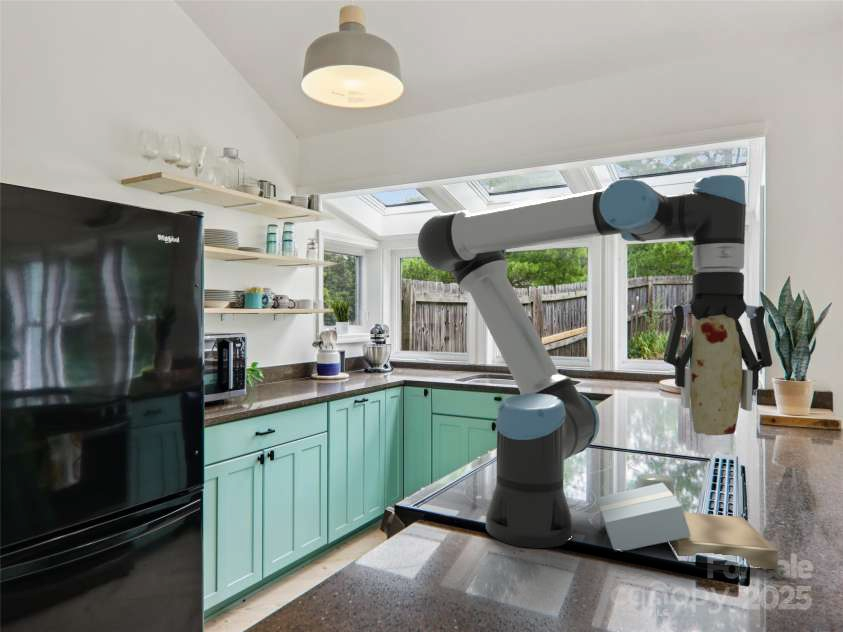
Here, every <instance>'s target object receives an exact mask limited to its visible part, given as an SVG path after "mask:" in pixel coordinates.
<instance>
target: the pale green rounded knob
mask: <svg viewBox="0 0 843 632" xmlns="http://www.w3.org/2000/svg"><path fill="white" fill-rule="evenodd" d="M659 483H664V485H665V486H666V487H667V488H668V490H669V491H671V493H672V494H673V495H674V496H675V479H674V478H673V477H671V476H668V475H664V474H658V473H641V474H638V475H637V488H641V487H645V486H650V485H654V484H659Z"/></svg>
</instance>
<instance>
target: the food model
mask: <svg viewBox="0 0 843 632" xmlns="http://www.w3.org/2000/svg"><path fill="white" fill-rule="evenodd" d="M693 325H694V327H693V326H692V327H693V347H692V355H691V357H690V363H689V369H691V383H690V411H691V412H690V413H691V414H690V415H691V421H692V429H693V432H695V434H697V435H700V434H703V435H705V436H726V435H733V434H734V433H736V429H737V428H736V427H737V423H738V418H739V410H740V404H741V389H742V369H743V359H742V350H741V346H740V343H739V333H738V332H737V331H736V324H735V320H734V319H732V318H729V317H727V315H725V314H722V315H717V316H709V317H708V318H701V319H699V320H697V319H696V318H695V319H694V321H693Z"/></svg>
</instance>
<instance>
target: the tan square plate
mask: <svg viewBox="0 0 843 632" xmlns="http://www.w3.org/2000/svg"><path fill="white" fill-rule="evenodd" d="M683 512H684V511H683ZM684 515H685V519H686V522H687V525H688V528H689V531H690V535H691V537H687V538H682V539H677V540H673V541H669V542H670V544H671V545H672V547H673V548H674V550H675V551H676V553H677V555H678V556H685V557H686V556H693V555H695V554H696V553H714V554H722V555H733V556H740V557H742V558H745V559H746V560H747V562H748V563H749V564H750V565H751V566H753V567H758V568H759V567H760V568H765V569H764V570H767V569H774V570H773V571H778V550H777V549H776V547H774V546H773V545H772V544H771V543H770V542H769V540H767V539H766V538H765V537H764V536H763V535H762V534H761V533H760V532H759V531H758V530H757V529H756V528H755V527H754V526H752V524H751V523H749V522H748V520H746V519H745V518H744V517H743V516H735V515H734V516H733V515H721V514H712V513H711V514H708V513H697V512H695V513H694V512H684Z"/></svg>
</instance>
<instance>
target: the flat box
mask: <svg viewBox="0 0 843 632" xmlns="http://www.w3.org/2000/svg"><path fill="white" fill-rule="evenodd" d="M595 499H596V502H597V507H598V508H599V512H600V516H601V519H602V522H603V525H604V528H605V530H606V533H607V537H608V536H609V537H608V539H609V538H610V540H609V542H610V541H611V542H610V544H611V546H613V547H612V549H620V550H625V551H629V550H634V549H638V548H639V549H640V548H643V547H647V546H654V545H658V544H664V543H667V542H668V541H673V540H677V539H682V538H687V537H691V535H690V531H689V528H688V525H687V522H686V519H685V515H684V510H683V506H682V505H681V503H680V502H679V501H678V500H677V499H676V497H675V494H674V495H673V494H672V493H671V491H669V490H668V488H667V487H666V486H665V485H664V483H659V484H654V485H650V486H645V487H641V488H638V487H637V488H632V489H629V490H624V491H619V492H615V493H610V494H607V495H603V496H599V497H595Z"/></svg>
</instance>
